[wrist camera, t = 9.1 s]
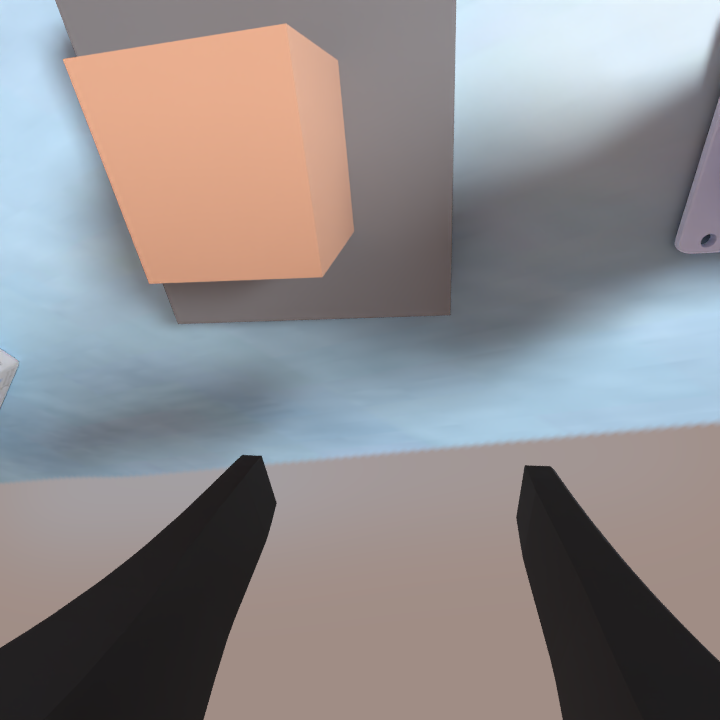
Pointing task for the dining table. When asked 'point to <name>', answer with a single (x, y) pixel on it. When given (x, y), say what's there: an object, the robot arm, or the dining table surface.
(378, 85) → the grey square slab
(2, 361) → the light bulb box
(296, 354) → the dining table surface
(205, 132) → the terracotta block
